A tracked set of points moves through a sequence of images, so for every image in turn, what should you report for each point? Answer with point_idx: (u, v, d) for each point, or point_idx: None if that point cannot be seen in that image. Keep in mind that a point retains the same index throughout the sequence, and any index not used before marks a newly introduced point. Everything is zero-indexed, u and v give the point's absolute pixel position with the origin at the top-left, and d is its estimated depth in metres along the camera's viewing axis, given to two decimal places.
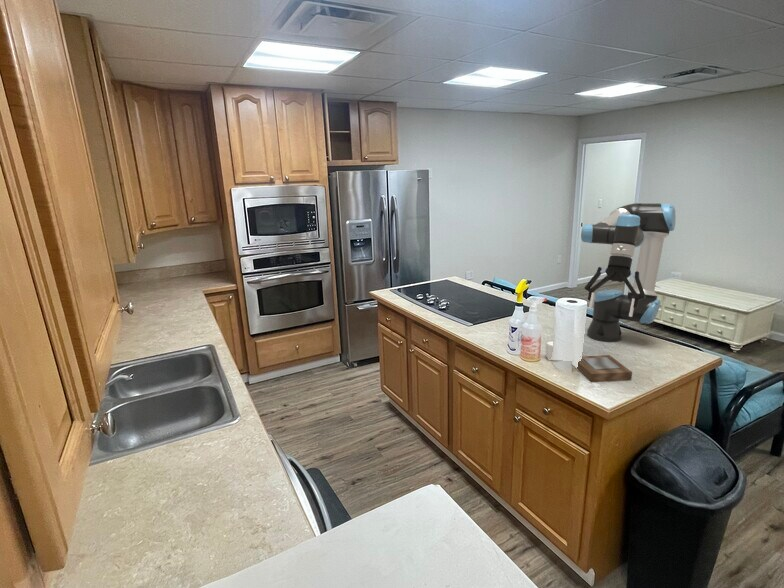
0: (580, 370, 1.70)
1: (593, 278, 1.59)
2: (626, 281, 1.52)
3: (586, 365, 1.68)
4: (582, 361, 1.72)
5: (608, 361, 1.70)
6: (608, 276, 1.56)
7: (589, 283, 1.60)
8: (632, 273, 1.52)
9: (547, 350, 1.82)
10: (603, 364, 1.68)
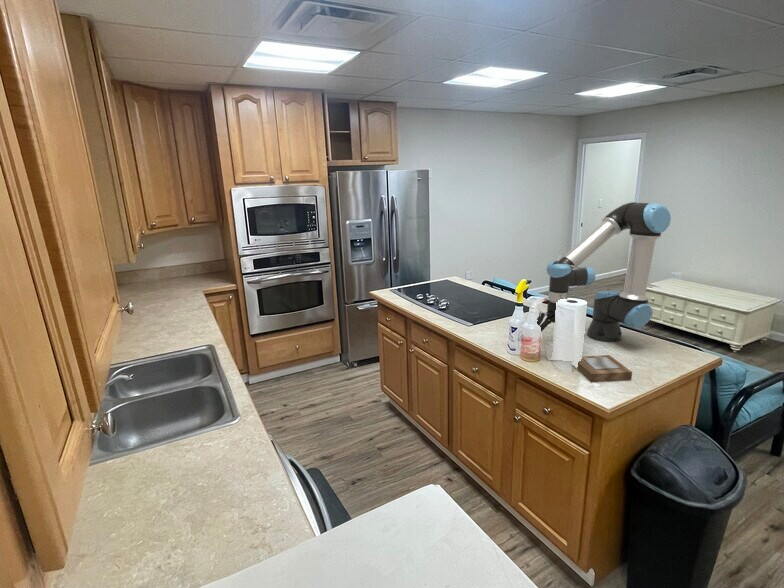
0: (580, 370, 1.70)
1: (539, 323, 1.78)
2: None
3: (586, 365, 1.68)
4: (582, 361, 1.72)
5: (608, 361, 1.70)
6: (551, 320, 1.77)
7: None
8: None
9: (547, 350, 1.82)
10: (603, 364, 1.68)
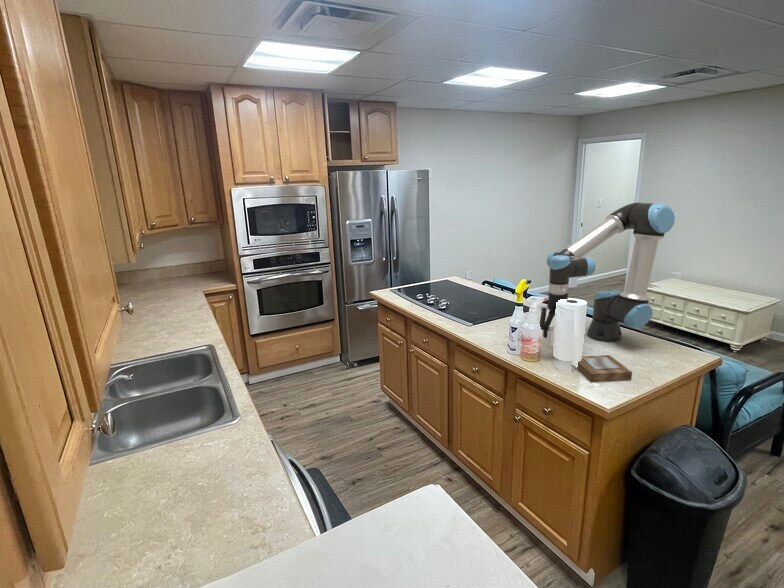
0: (580, 370, 1.70)
1: (543, 318, 1.77)
2: None
3: (586, 365, 1.68)
4: (582, 361, 1.72)
5: (608, 361, 1.70)
6: (554, 313, 1.76)
7: (543, 324, 1.78)
8: None
9: (549, 336, 1.80)
10: (603, 364, 1.68)
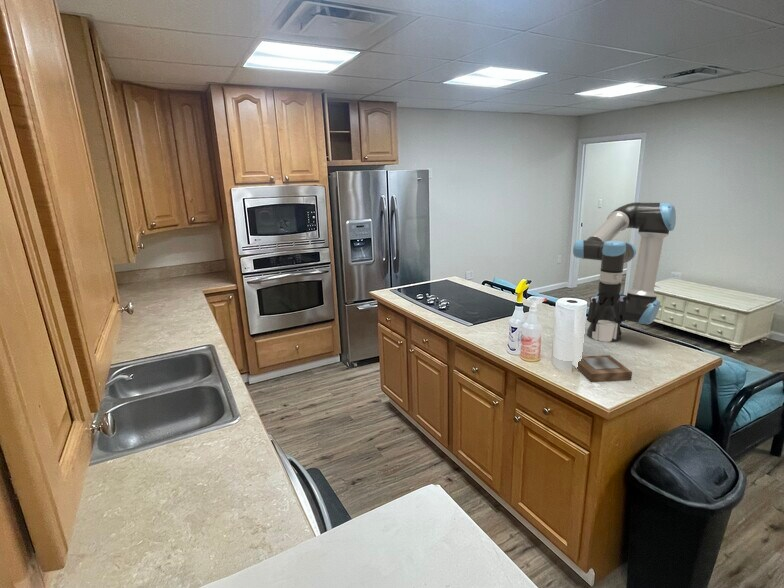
0: (580, 370, 1.70)
1: (593, 310, 1.61)
2: (616, 307, 1.61)
3: (586, 365, 1.68)
4: (582, 361, 1.72)
5: (608, 361, 1.70)
6: (605, 304, 1.60)
7: (592, 316, 1.62)
8: (620, 297, 1.61)
9: (598, 330, 1.64)
10: (603, 364, 1.68)
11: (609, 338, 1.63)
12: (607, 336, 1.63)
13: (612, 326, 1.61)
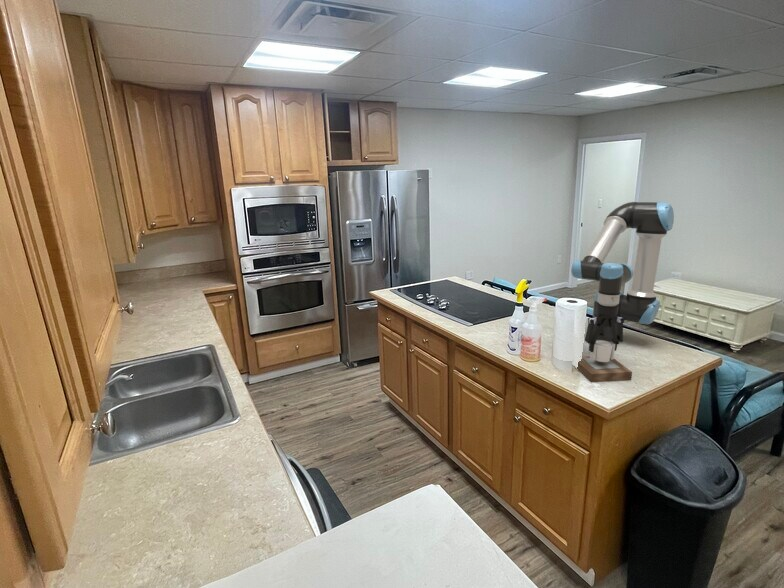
0: (580, 370, 1.70)
1: (591, 331, 1.64)
2: (613, 328, 1.63)
3: (586, 365, 1.68)
4: (582, 361, 1.72)
5: (608, 361, 1.70)
6: (603, 325, 1.63)
7: (590, 337, 1.64)
8: (618, 318, 1.64)
9: (596, 350, 1.67)
10: (603, 364, 1.68)
11: (607, 358, 1.65)
12: (605, 357, 1.65)
13: (610, 347, 1.64)
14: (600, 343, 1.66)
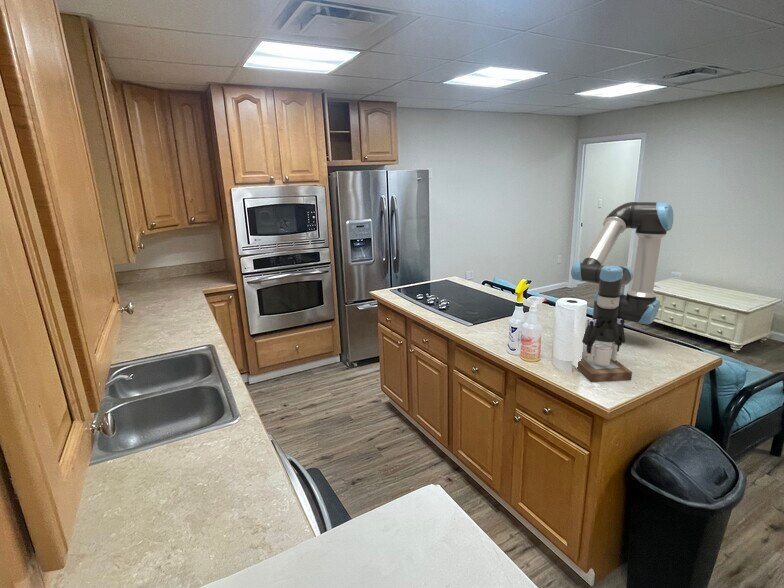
0: (580, 370, 1.70)
1: (589, 333, 1.64)
2: (614, 330, 1.64)
3: (586, 365, 1.68)
4: (582, 361, 1.72)
5: None
6: (602, 327, 1.63)
7: (588, 338, 1.64)
8: (618, 320, 1.64)
9: (596, 354, 1.67)
10: None
11: (607, 362, 1.66)
12: (605, 360, 1.66)
13: (609, 351, 1.64)
14: (600, 347, 1.67)
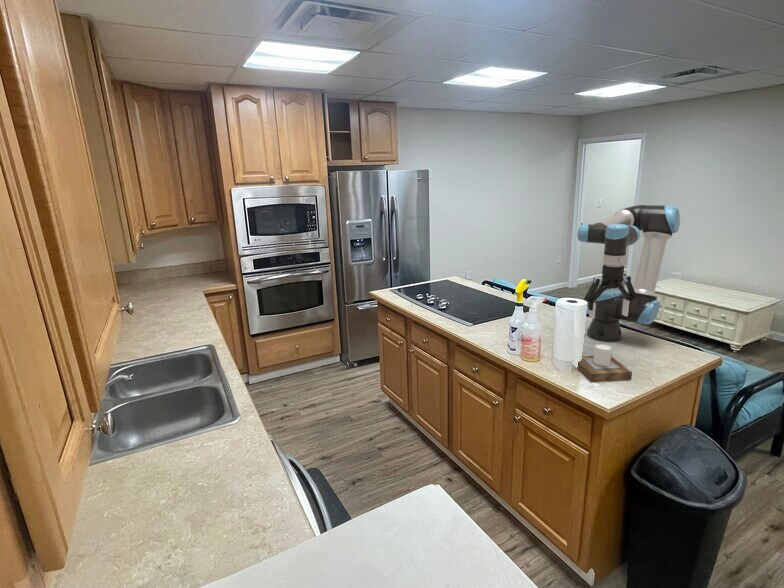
0: (580, 370, 1.70)
1: (593, 290, 1.64)
2: (622, 287, 1.64)
3: (586, 365, 1.68)
4: (582, 361, 1.72)
5: None
6: (607, 286, 1.63)
7: (590, 295, 1.64)
8: (624, 278, 1.64)
9: (596, 354, 1.67)
10: None
11: (607, 362, 1.66)
12: (605, 360, 1.66)
13: (609, 351, 1.64)
14: (600, 347, 1.67)
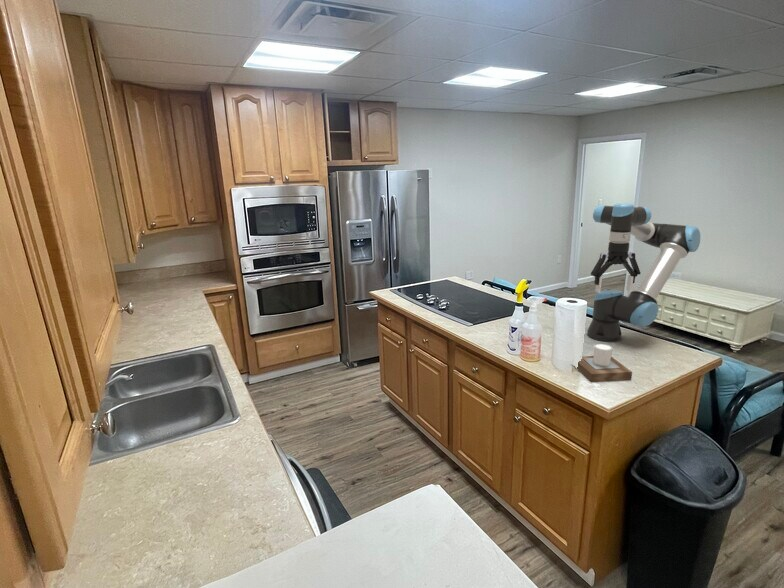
0: (580, 370, 1.70)
1: (600, 265, 1.75)
2: (627, 263, 1.75)
3: (586, 365, 1.68)
4: (582, 361, 1.72)
5: None
6: (613, 261, 1.74)
7: (597, 270, 1.75)
8: (629, 255, 1.75)
9: (596, 354, 1.67)
10: None
11: (607, 362, 1.66)
12: (605, 360, 1.66)
13: (609, 351, 1.64)
14: (600, 347, 1.67)
